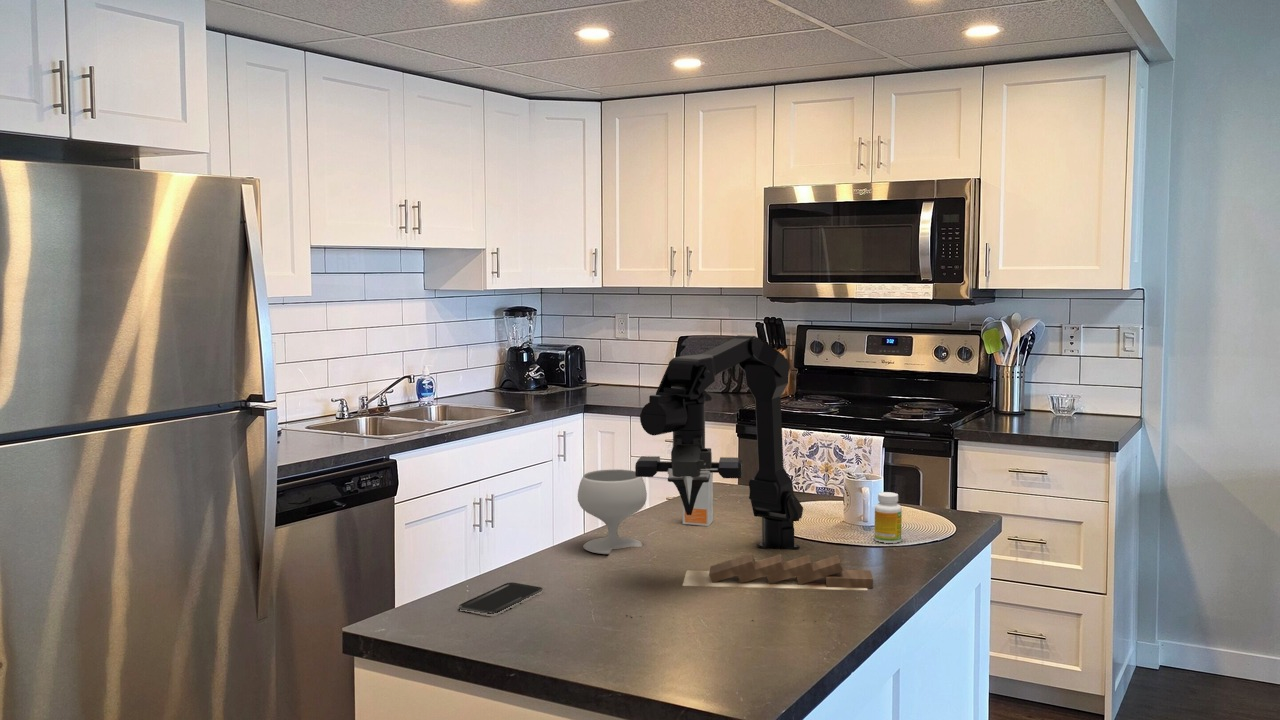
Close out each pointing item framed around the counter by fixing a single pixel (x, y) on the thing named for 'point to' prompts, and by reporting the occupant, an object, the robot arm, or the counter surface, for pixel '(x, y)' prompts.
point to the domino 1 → (732, 568)
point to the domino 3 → (792, 569)
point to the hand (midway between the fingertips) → (689, 514)
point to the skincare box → (700, 504)
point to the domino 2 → (763, 568)
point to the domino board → (755, 582)
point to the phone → (500, 598)
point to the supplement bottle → (888, 518)
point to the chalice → (611, 504)
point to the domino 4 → (821, 569)
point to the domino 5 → (850, 579)
